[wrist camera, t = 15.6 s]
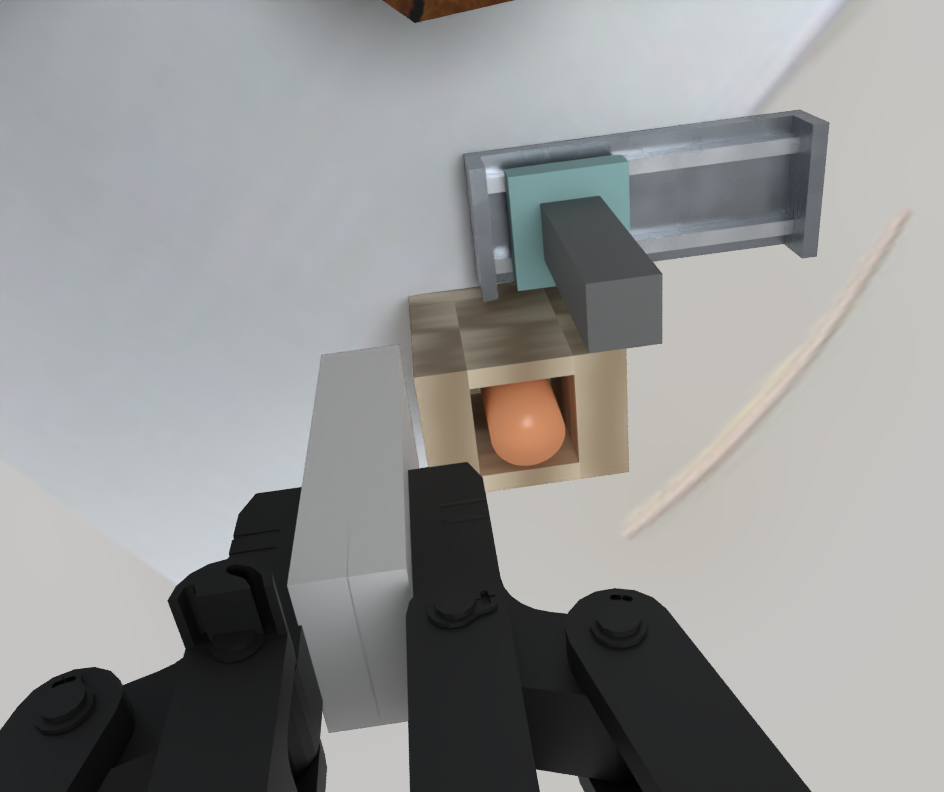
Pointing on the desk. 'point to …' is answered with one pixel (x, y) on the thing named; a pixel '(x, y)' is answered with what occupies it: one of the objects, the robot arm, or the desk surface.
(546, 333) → the wooden box
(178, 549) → the desk surface
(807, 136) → the rail track
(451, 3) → the mug
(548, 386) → the orange cylinder
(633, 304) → the carriage
